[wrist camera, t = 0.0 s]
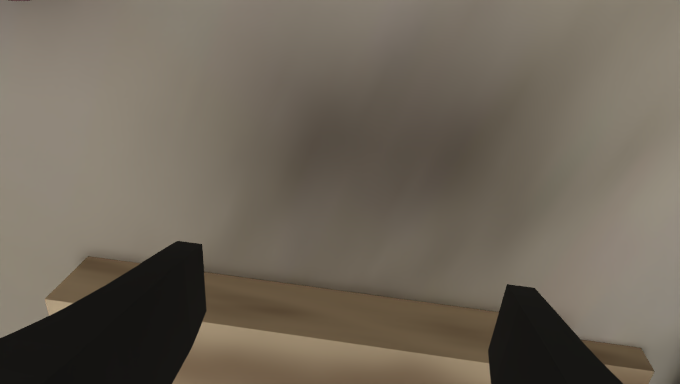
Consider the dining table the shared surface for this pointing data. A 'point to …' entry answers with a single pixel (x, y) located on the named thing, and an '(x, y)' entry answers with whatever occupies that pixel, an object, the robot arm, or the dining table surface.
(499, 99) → the dining table surface
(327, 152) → the dining table surface
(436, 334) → the oak plank
